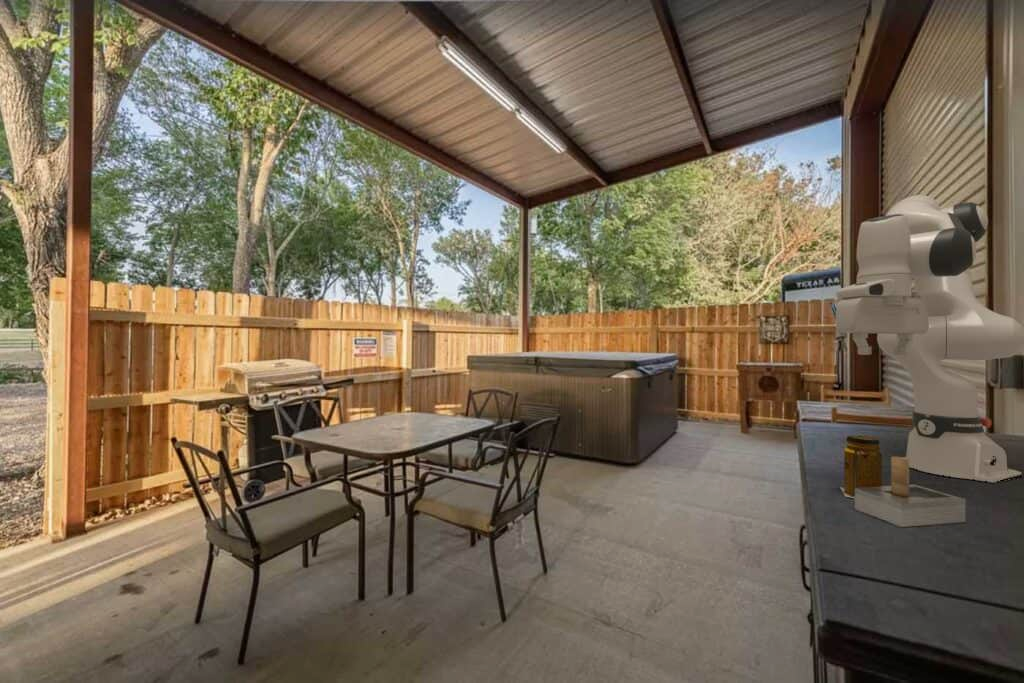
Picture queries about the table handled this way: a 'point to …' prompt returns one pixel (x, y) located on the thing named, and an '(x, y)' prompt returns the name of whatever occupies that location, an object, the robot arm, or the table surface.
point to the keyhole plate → (911, 514)
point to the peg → (900, 476)
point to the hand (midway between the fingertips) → (882, 355)
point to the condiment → (861, 464)
